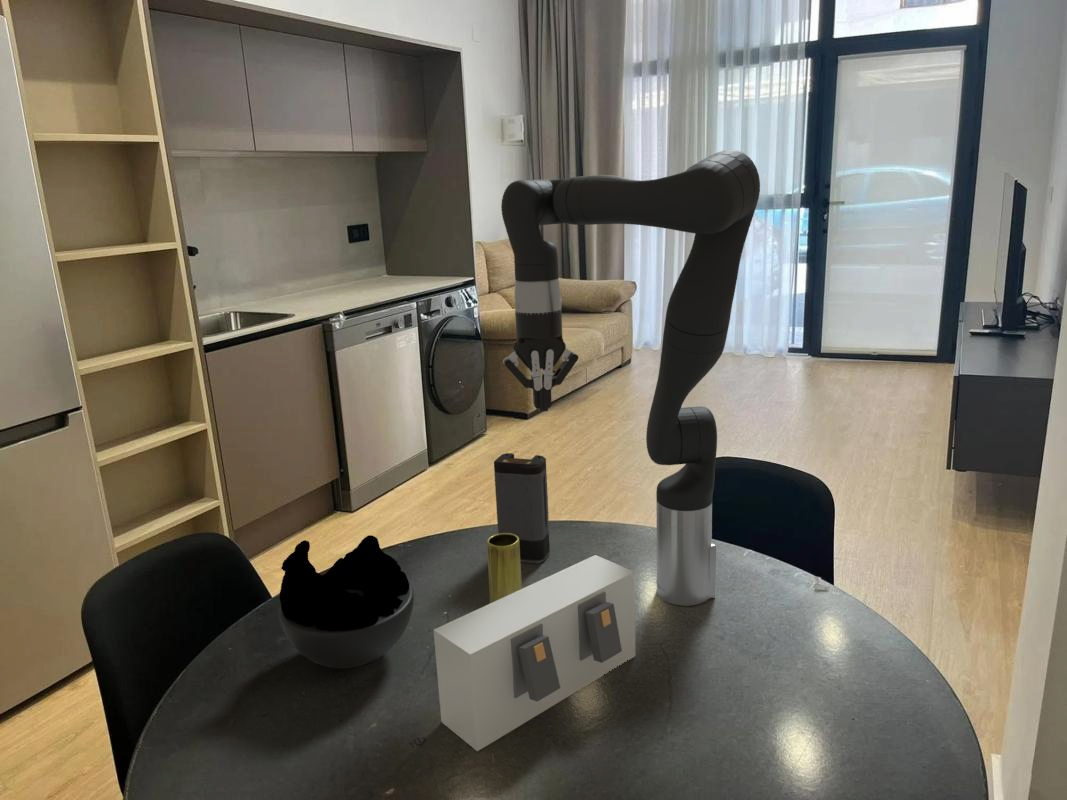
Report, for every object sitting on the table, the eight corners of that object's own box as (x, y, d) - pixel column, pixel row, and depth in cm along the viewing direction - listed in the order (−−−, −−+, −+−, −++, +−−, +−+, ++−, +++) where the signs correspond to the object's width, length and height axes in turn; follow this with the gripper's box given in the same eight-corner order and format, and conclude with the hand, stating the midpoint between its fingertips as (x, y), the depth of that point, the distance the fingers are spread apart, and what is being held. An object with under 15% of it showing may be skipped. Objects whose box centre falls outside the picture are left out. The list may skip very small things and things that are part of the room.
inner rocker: (593, 660, 109) (585, 612, 109) (613, 648, 112) (605, 601, 111) (603, 663, 108) (594, 614, 107) (623, 651, 110) (614, 603, 110)
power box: (441, 722, 106) (433, 629, 103) (597, 635, 125) (595, 554, 122) (478, 752, 100) (471, 655, 97) (636, 656, 119) (635, 572, 115)
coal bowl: (445, 651, 123) (436, 540, 118) (334, 715, 109) (319, 592, 104) (369, 610, 136) (358, 508, 131) (262, 662, 122) (245, 551, 117)
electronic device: (552, 551, 155) (548, 455, 150) (542, 565, 149) (538, 465, 144) (507, 546, 158) (502, 452, 153) (496, 559, 152) (490, 462, 147)
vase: (527, 608, 134) (523, 531, 130) (523, 628, 128) (519, 547, 124) (492, 608, 135) (487, 531, 131) (486, 627, 129) (481, 547, 125)
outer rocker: (529, 699, 102) (517, 647, 101) (552, 685, 104) (540, 634, 104) (538, 701, 100) (526, 648, 100) (561, 688, 103) (549, 636, 102)
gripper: (572, 301, 132) (575, 401, 137) (494, 307, 130) (500, 408, 135) (583, 307, 125) (586, 412, 130) (501, 313, 123) (507, 420, 127)
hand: (542, 410), depth 132 cm, fingers closed
